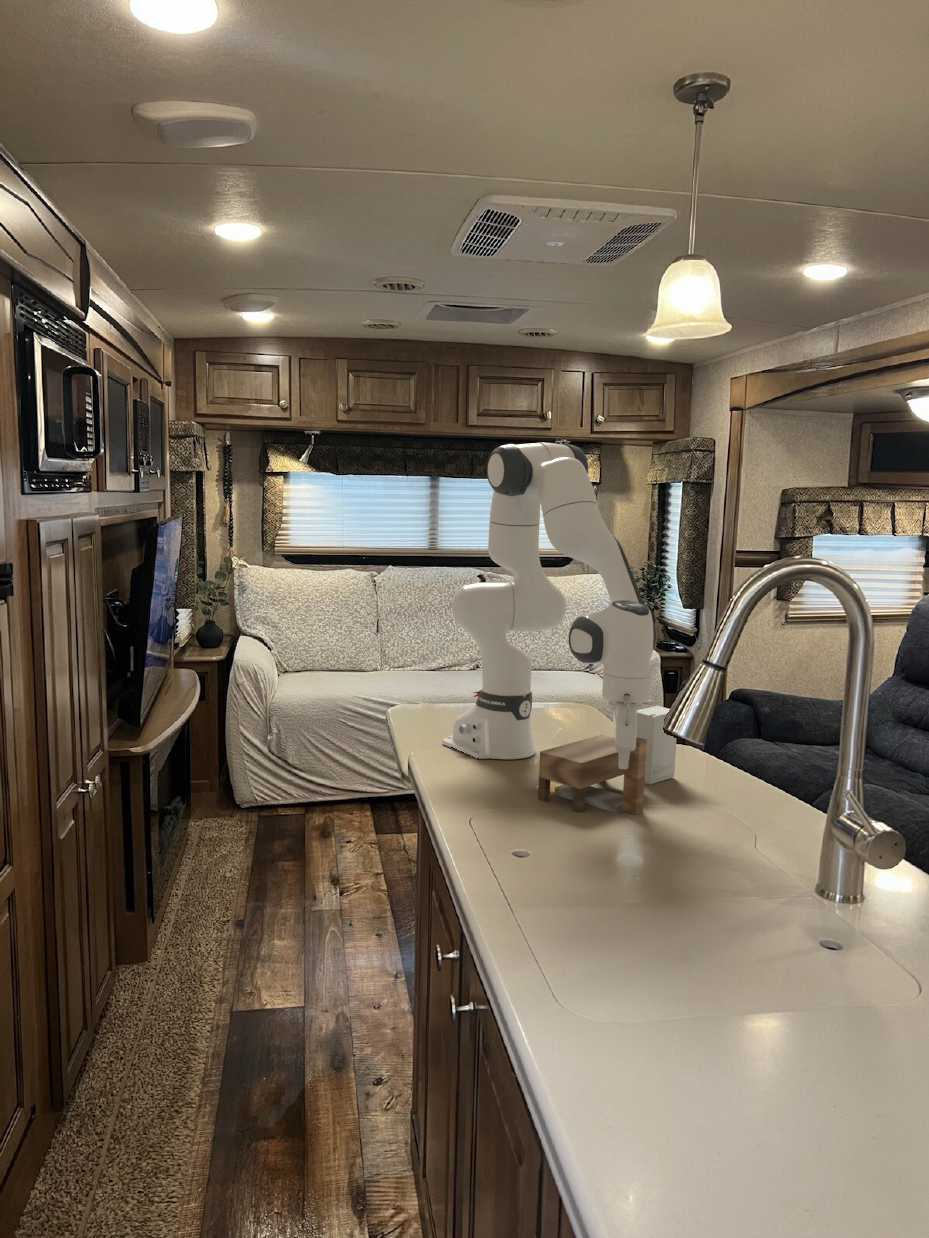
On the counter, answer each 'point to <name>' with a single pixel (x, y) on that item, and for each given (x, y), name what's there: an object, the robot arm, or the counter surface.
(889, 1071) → the counter surface
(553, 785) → the tan square tile
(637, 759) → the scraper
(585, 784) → the small wooden table
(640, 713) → the skincare box
